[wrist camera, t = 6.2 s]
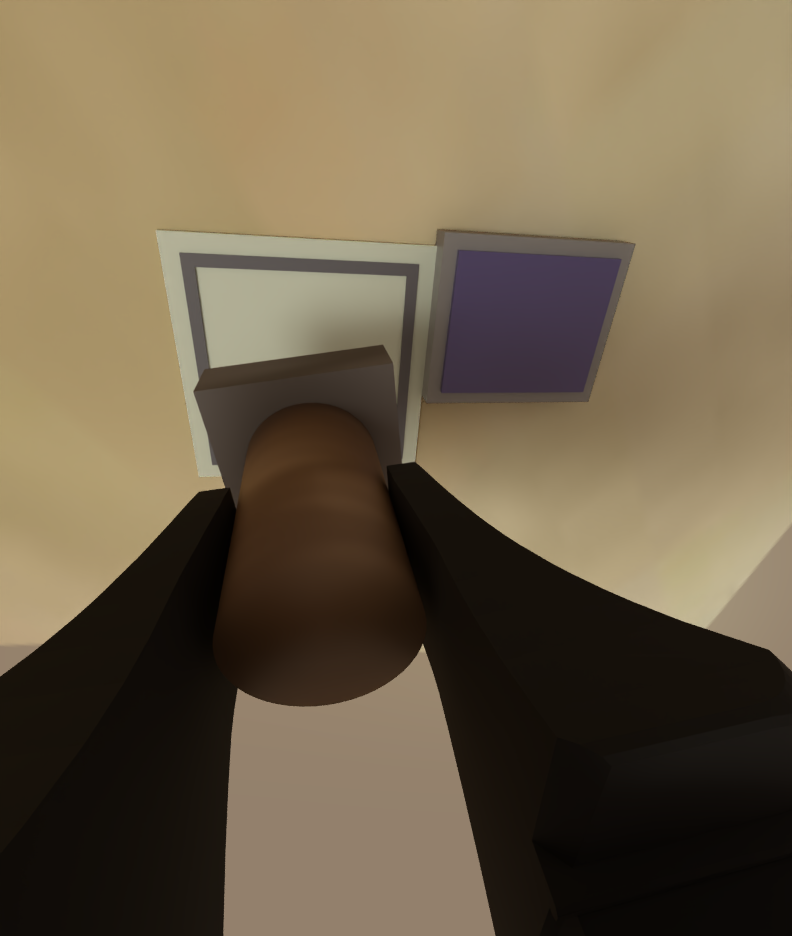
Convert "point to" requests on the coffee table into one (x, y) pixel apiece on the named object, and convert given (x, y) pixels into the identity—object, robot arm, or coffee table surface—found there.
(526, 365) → the ink pad
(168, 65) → the coffee table surface
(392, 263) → the sheet
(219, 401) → the stamp
